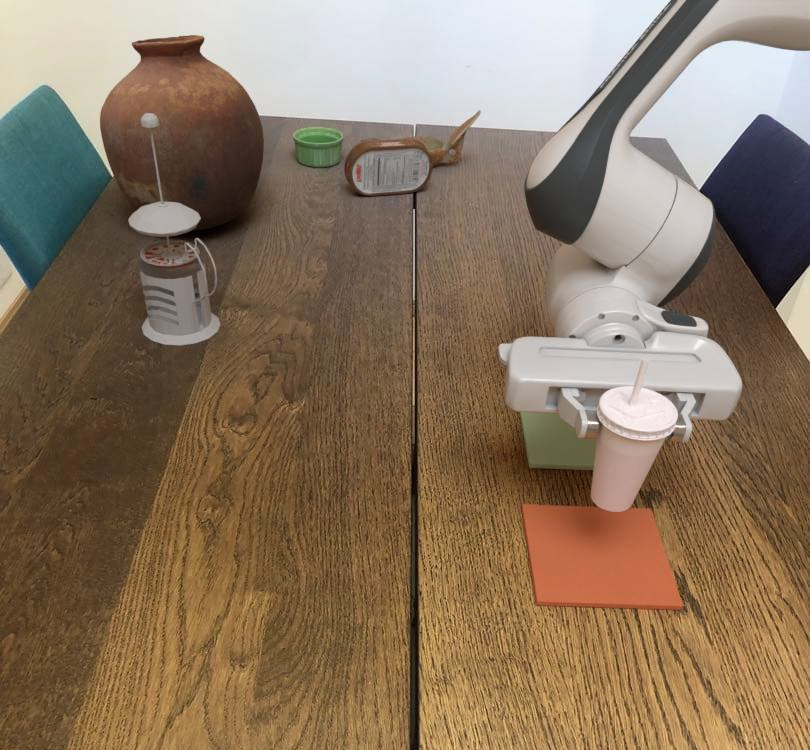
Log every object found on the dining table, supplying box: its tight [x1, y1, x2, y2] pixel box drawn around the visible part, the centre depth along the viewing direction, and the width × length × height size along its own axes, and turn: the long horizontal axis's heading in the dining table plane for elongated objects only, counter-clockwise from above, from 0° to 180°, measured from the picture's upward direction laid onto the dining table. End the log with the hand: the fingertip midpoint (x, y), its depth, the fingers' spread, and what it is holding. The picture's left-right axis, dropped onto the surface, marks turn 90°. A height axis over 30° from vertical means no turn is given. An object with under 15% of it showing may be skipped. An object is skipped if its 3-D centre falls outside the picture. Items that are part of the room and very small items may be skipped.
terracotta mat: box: [520, 503, 684, 611], centre depth 77 cm, size 13×13×1 cm
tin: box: [343, 138, 434, 197], centre depth 136 cm, size 15×3×8 cm, turn 108°
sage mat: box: [519, 412, 598, 471], centre depth 91 cm, size 12×12×1 cm
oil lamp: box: [359, 109, 482, 167], centre depth 147 cm, size 9×21×10 cm, turn 80°
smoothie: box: [590, 358, 678, 512], centre depth 67 cm, size 6×6×14 cm
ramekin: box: [292, 126, 344, 169], centre depth 148 cm, size 9×9×4 cm
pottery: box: [99, 34, 265, 232], centre depth 119 cm, size 23×23×25 cm
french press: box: [128, 113, 221, 346], centre depth 95 cm, size 10×12×25 cm
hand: (635, 433), depth 66 cm, fingers closed on smoothie, 6 cm apart
